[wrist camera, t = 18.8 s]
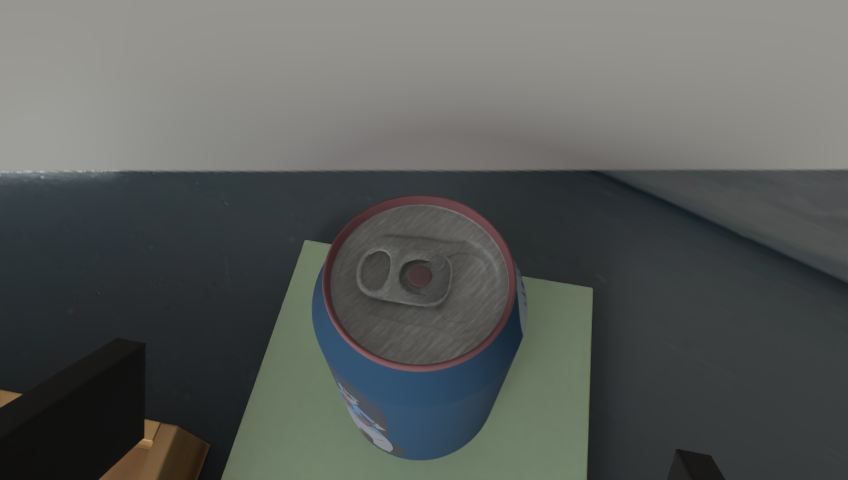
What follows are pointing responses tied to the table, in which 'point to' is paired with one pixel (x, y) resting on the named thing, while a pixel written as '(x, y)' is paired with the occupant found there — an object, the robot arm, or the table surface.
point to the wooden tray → (154, 453)
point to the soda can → (419, 322)
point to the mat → (446, 476)
